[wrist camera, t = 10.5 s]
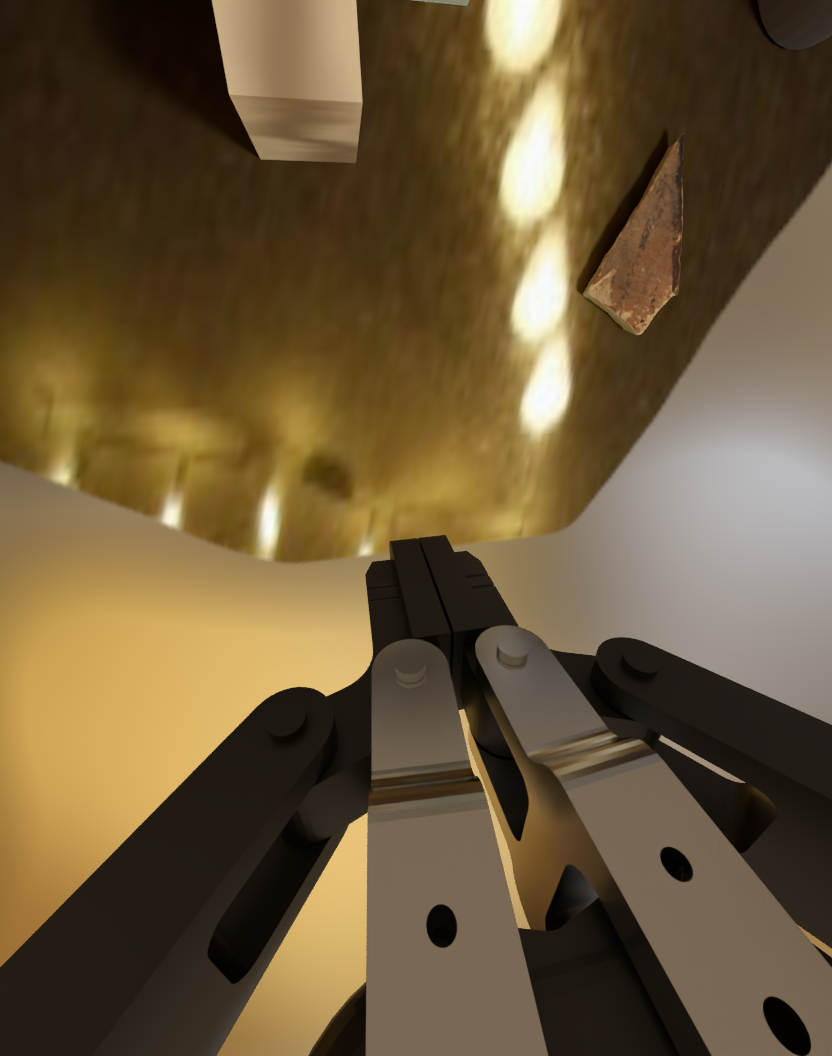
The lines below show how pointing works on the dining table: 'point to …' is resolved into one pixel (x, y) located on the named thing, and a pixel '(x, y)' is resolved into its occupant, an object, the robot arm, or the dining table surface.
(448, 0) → the sage fence board
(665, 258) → the shard
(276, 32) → the birch block
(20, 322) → the dining table surface
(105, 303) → the dining table surface
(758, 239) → the dining table surface
